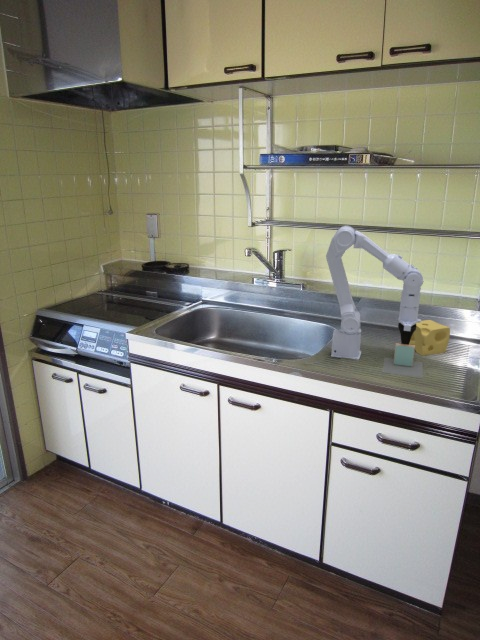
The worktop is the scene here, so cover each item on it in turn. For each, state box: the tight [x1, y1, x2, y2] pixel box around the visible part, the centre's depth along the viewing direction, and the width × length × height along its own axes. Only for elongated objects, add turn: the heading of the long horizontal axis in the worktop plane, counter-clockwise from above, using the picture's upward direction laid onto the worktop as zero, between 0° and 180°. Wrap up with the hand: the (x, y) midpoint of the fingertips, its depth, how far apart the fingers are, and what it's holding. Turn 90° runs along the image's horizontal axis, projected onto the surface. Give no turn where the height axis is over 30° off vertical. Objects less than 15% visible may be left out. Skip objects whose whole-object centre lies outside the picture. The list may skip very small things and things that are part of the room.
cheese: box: [409, 319, 451, 357], centre depth 162 cm, size 10×11×10 cm
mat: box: [381, 357, 424, 379], centre depth 148 cm, size 12×13×1 cm
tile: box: [393, 342, 416, 367], centre depth 149 cm, size 6×1×7 cm, turn 70°
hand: (404, 345), depth 153 cm, fingers closed
